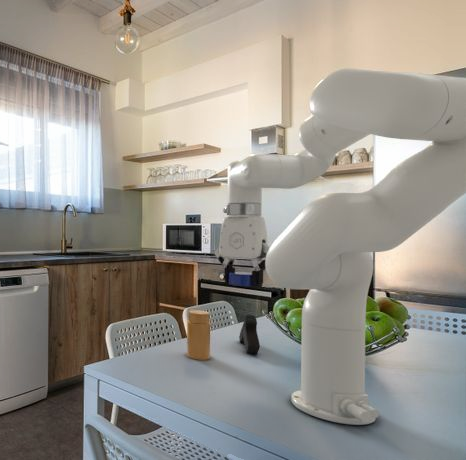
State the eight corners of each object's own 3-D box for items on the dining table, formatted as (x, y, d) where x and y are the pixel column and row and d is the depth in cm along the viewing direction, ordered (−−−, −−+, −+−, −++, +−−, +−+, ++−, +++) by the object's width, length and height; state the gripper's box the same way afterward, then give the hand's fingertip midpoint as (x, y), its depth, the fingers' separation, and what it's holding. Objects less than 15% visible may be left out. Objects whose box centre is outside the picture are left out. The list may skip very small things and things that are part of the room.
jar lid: (259, 284, 98) (259, 273, 98) (256, 287, 93) (256, 275, 93) (230, 282, 102) (230, 271, 102) (226, 284, 96) (226, 273, 96)
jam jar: (213, 360, 101) (214, 314, 101) (192, 359, 101) (192, 314, 101) (204, 353, 107) (204, 310, 107) (183, 353, 107) (184, 310, 107)
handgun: (248, 347, 104) (244, 312, 110) (241, 364, 114) (238, 331, 120) (260, 348, 103) (256, 312, 109) (252, 366, 113) (248, 332, 119)
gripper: (203, 212, 103) (202, 282, 103) (270, 210, 88) (269, 291, 88) (221, 213, 107) (220, 280, 107) (289, 211, 92) (288, 289, 92)
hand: (243, 284), depth 97 cm, fingers closed on jar lid, 6 cm apart
